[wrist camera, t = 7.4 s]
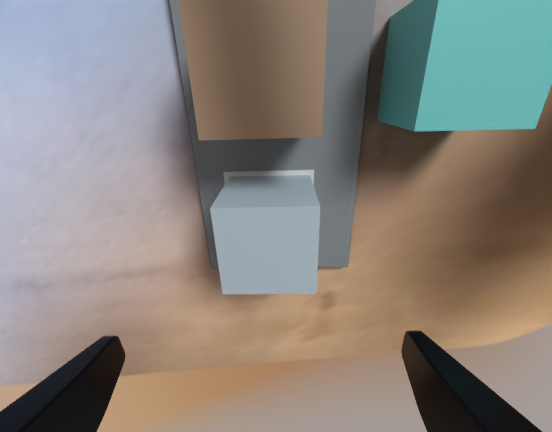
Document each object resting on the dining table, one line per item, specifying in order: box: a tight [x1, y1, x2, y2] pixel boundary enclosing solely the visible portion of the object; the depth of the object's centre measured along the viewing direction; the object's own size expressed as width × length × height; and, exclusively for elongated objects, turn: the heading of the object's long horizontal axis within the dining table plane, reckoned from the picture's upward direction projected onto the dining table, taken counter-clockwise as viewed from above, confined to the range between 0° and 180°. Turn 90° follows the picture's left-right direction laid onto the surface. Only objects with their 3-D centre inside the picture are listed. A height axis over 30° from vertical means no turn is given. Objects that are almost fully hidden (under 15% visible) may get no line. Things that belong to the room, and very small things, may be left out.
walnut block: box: [178, 0, 328, 140], centre depth 12 cm, size 5×5×5 cm
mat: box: [169, 0, 375, 269], centre depth 16 cm, size 10×17×1 cm, turn 2°
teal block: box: [377, 0, 552, 131], centre depth 12 cm, size 5×5×5 cm
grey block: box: [210, 175, 320, 294], centre depth 15 cm, size 5×5×5 cm
